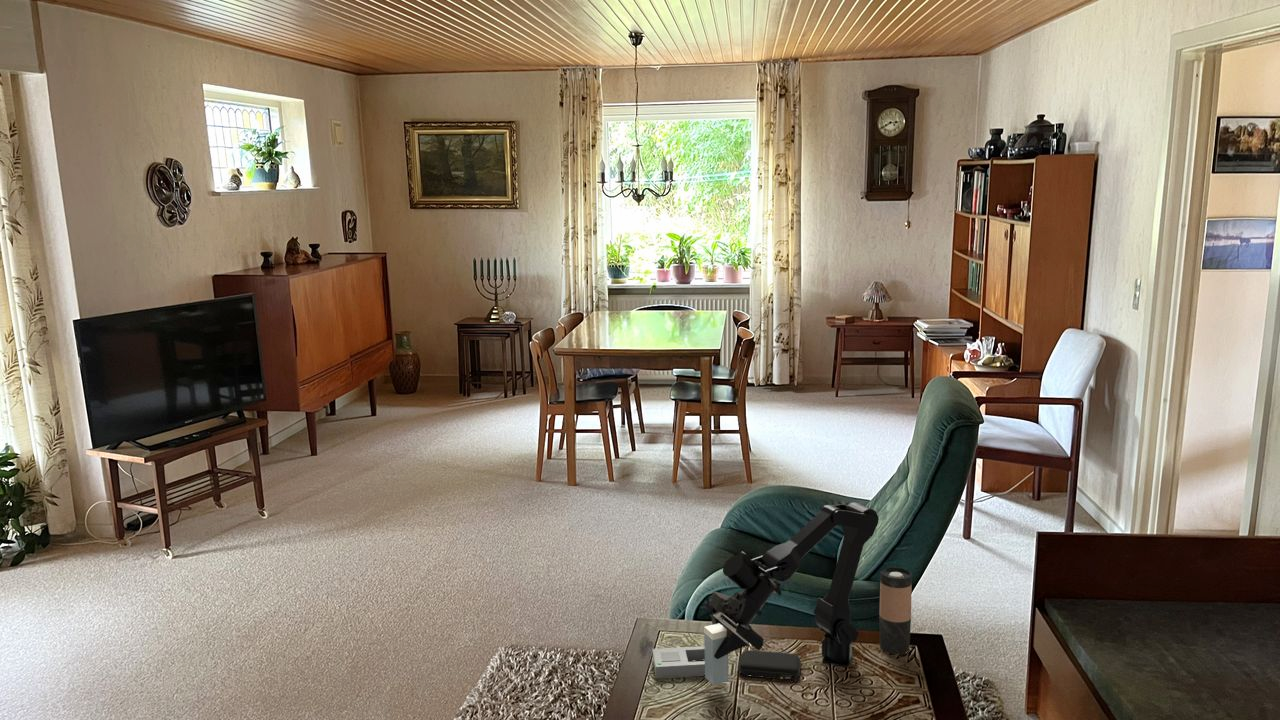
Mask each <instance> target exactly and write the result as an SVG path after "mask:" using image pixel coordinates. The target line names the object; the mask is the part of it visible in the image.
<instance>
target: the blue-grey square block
mask: <svg viewBox="0 0 1280 720" xmlns="http://www.w3.org/2000/svg"><path fill="white" fill-rule="evenodd" d="M703 627H704V628H703V631H704V632H703V633H704V634H703V638H704V639H703V640H704V645H703V646H705V660H704V661H705V676H704V678H705V679H706V680H707V681H708V682H709V683H710V684H711V685H713V686H716V685H721V684H723V683H726V682H729V678H730V677H729V654H727V655H725V656H723V657H721V658H719V659H716V658H715V657H714V655H715V653H716V652H717V650H718V648H719V647H720V645H721V644H722V642H723V641H724V639H725V638H726V636H727V629H726V628H725V627H724V626H722V625H721V624H720V623H718V624H714V625H712V624H710V625H706V626H703Z"/></svg>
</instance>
